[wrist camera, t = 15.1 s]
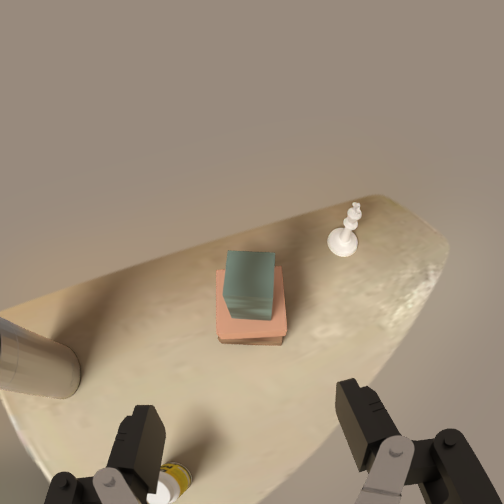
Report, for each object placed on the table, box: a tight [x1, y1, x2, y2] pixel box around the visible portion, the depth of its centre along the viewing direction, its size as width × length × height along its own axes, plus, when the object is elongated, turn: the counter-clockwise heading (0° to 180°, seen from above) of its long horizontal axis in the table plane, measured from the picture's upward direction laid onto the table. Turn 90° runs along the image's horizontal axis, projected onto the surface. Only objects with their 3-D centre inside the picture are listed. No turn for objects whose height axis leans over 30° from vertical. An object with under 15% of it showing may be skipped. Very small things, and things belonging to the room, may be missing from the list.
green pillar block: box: [222, 251, 275, 321], centre depth 30 cm, size 4×4×8 cm
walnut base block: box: [218, 336, 282, 346], centre depth 38 cm, size 8×8×4 cm
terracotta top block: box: [216, 266, 287, 339], centre depth 36 cm, size 8×8×4 cm
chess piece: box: [327, 202, 362, 257], centre depth 40 cm, size 5×5×10 cm
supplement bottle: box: [147, 462, 192, 504], centre depth 25 cm, size 5×5×8 cm
